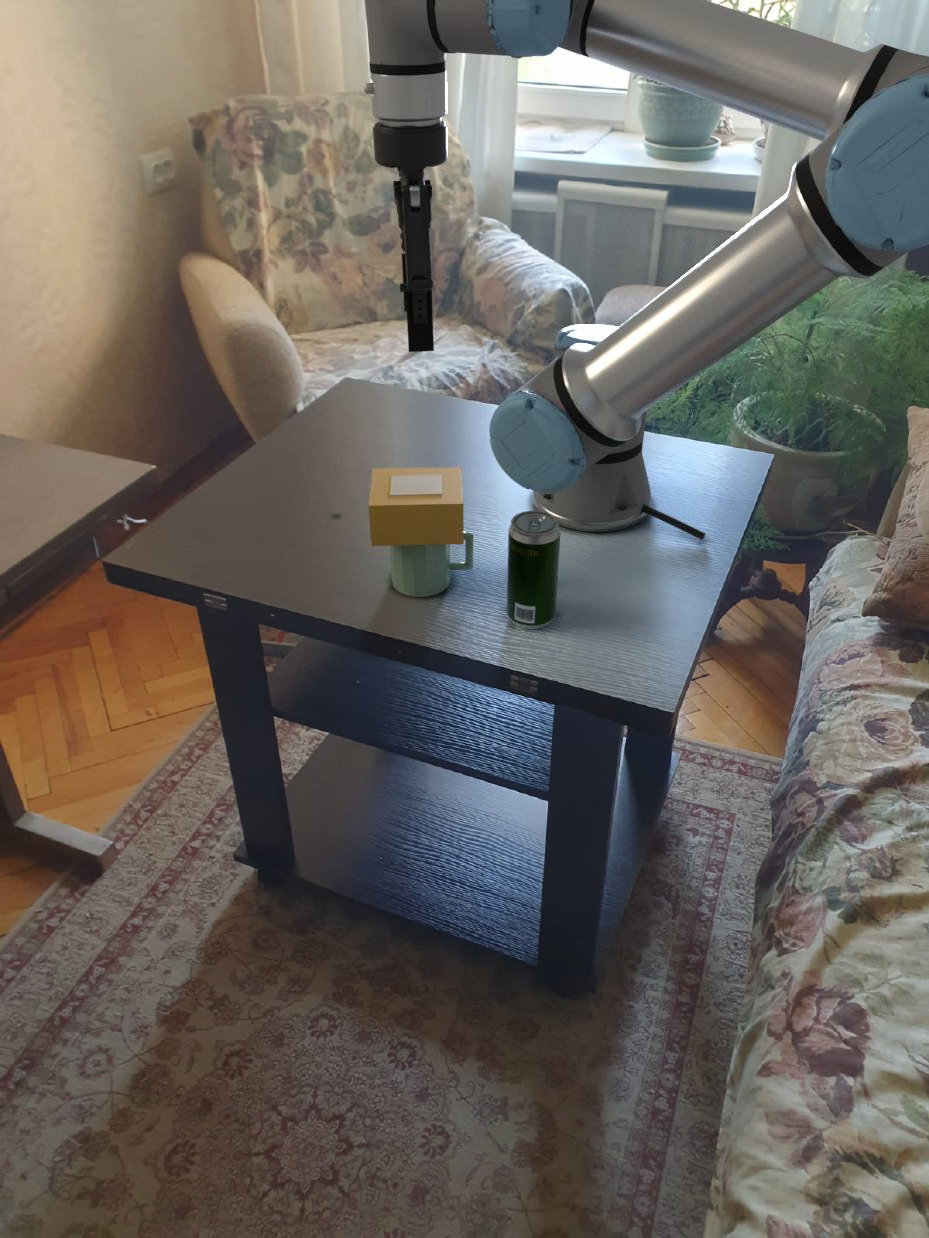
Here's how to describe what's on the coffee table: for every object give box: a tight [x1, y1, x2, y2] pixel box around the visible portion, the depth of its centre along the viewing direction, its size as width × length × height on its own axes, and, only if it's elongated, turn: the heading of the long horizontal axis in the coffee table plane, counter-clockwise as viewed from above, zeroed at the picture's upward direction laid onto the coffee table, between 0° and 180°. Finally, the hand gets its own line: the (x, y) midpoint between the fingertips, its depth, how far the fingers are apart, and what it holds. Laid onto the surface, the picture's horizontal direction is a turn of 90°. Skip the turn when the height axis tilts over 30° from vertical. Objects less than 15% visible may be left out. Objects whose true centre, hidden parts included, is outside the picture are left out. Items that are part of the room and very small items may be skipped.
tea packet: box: [367, 466, 465, 547], centre depth 103 cm, size 10×8×5 cm
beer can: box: [506, 510, 561, 630], centre depth 100 cm, size 5×5×12 cm
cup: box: [389, 531, 474, 598], centre depth 107 cm, size 10×7×8 cm
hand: (418, 329), depth 107 cm, fingers open, 13 cm apart
